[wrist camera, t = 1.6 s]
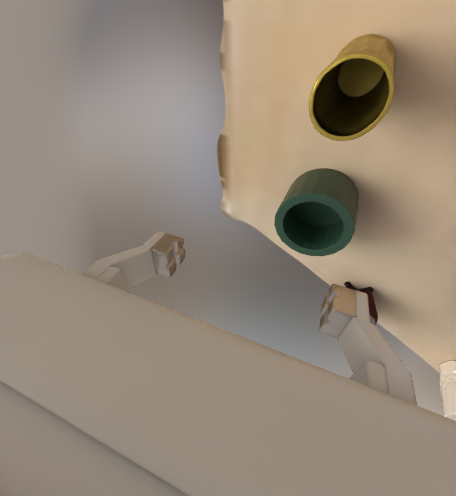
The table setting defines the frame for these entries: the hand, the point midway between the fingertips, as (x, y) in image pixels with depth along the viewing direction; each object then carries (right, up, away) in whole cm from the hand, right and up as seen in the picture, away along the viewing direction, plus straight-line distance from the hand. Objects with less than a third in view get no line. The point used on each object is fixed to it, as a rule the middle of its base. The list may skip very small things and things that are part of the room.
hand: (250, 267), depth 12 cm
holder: (+13, +9, +24) cm, 29 cm away
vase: (+13, +20, +13) cm, 27 cm away
